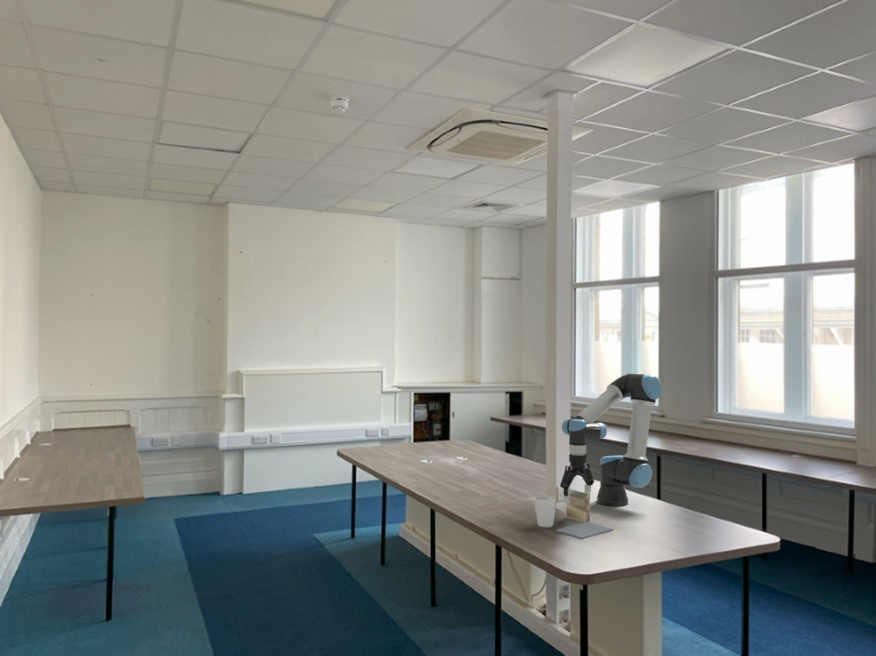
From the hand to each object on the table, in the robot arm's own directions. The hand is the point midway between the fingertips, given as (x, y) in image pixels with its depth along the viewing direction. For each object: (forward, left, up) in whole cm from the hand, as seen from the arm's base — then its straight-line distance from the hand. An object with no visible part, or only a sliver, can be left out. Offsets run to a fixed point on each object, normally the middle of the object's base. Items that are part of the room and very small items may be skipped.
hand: (577, 501), depth 298 cm
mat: (+12, +14, -8) cm, 20 cm away
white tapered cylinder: (+19, -2, -8) cm, 20 cm away
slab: (0, 0, -8) cm, 8 cm away
